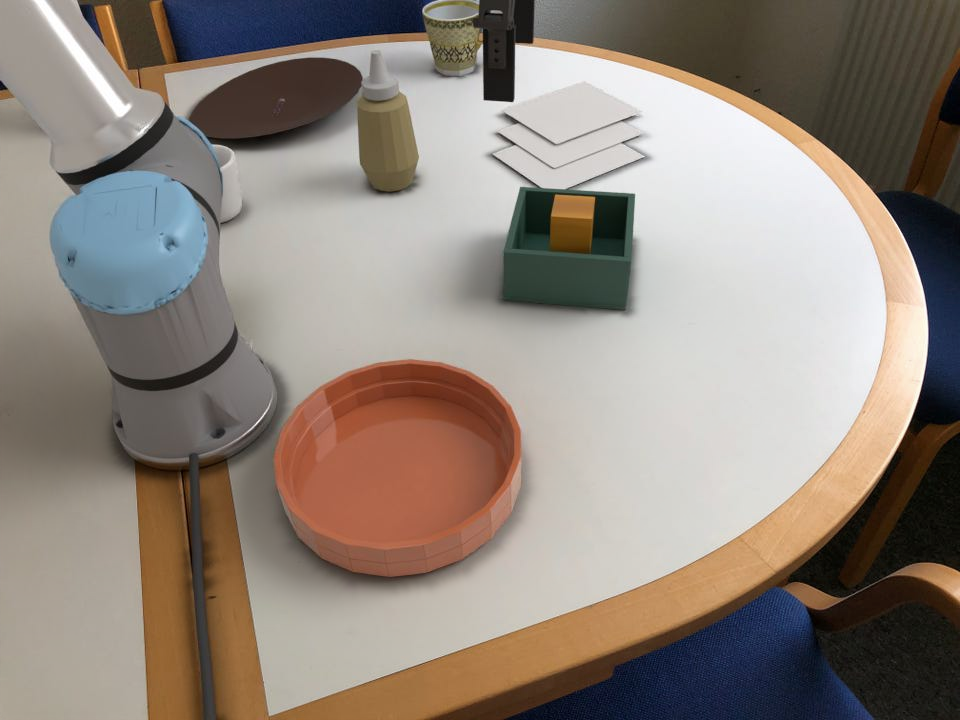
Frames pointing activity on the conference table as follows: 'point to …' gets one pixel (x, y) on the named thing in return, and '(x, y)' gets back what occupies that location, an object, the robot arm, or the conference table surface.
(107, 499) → the conference table surface
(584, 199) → the block
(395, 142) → the squeeze bottle
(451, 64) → the ceramic cup
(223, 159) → the cup
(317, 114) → the plate
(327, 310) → the conference table surface
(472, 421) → the bowl
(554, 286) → the bin
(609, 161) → the paper stack
